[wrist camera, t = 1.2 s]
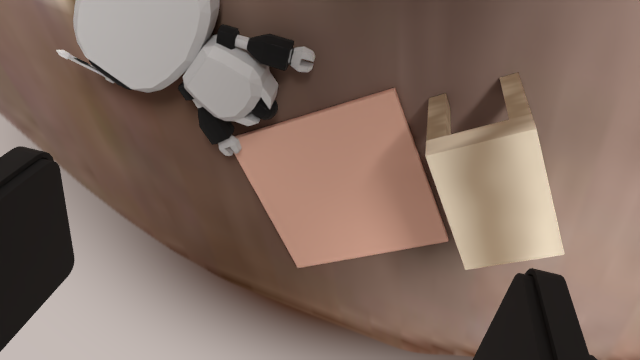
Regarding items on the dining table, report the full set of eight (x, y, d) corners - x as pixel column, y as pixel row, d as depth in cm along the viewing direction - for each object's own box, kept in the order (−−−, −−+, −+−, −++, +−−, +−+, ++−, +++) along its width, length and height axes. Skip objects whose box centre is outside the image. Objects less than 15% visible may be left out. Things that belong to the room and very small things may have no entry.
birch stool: (518, 72, 33) (536, 128, 26) (543, 182, 37) (564, 254, 30) (428, 98, 35) (425, 155, 29) (461, 199, 39) (465, 269, 33)
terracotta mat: (394, 87, 35) (394, 90, 35) (448, 237, 42) (448, 241, 41) (229, 138, 40) (227, 140, 40) (299, 264, 47) (297, 268, 46)
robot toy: (333, 39, 35) (148, -117, 31) (324, 65, 32) (114, -107, 27) (240, 145, 42) (78, 28, 38) (224, 177, 38) (43, 51, 34)
